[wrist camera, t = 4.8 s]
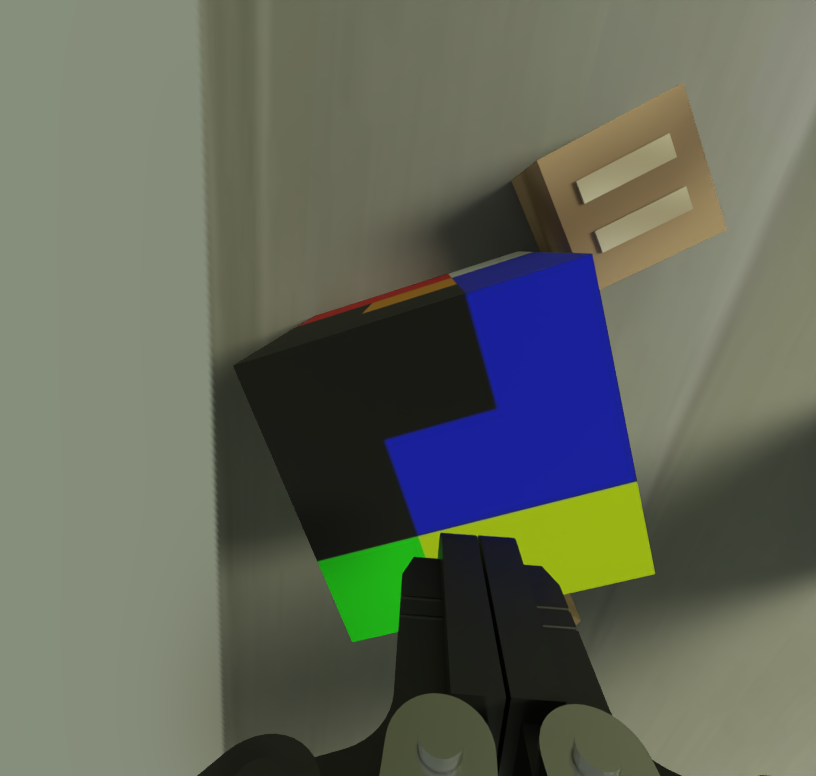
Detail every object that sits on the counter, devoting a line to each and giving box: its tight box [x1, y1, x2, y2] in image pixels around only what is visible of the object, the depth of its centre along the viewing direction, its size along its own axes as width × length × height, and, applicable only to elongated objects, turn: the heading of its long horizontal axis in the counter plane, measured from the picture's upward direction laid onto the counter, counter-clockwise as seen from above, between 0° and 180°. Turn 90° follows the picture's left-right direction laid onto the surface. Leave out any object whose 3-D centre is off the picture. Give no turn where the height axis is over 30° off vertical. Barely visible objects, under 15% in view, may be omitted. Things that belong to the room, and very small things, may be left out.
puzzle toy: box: [233, 251, 655, 642], centre depth 18 cm, size 10×10×10 cm
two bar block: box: [511, 83, 727, 290], centre depth 18 cm, size 5×5×5 cm
